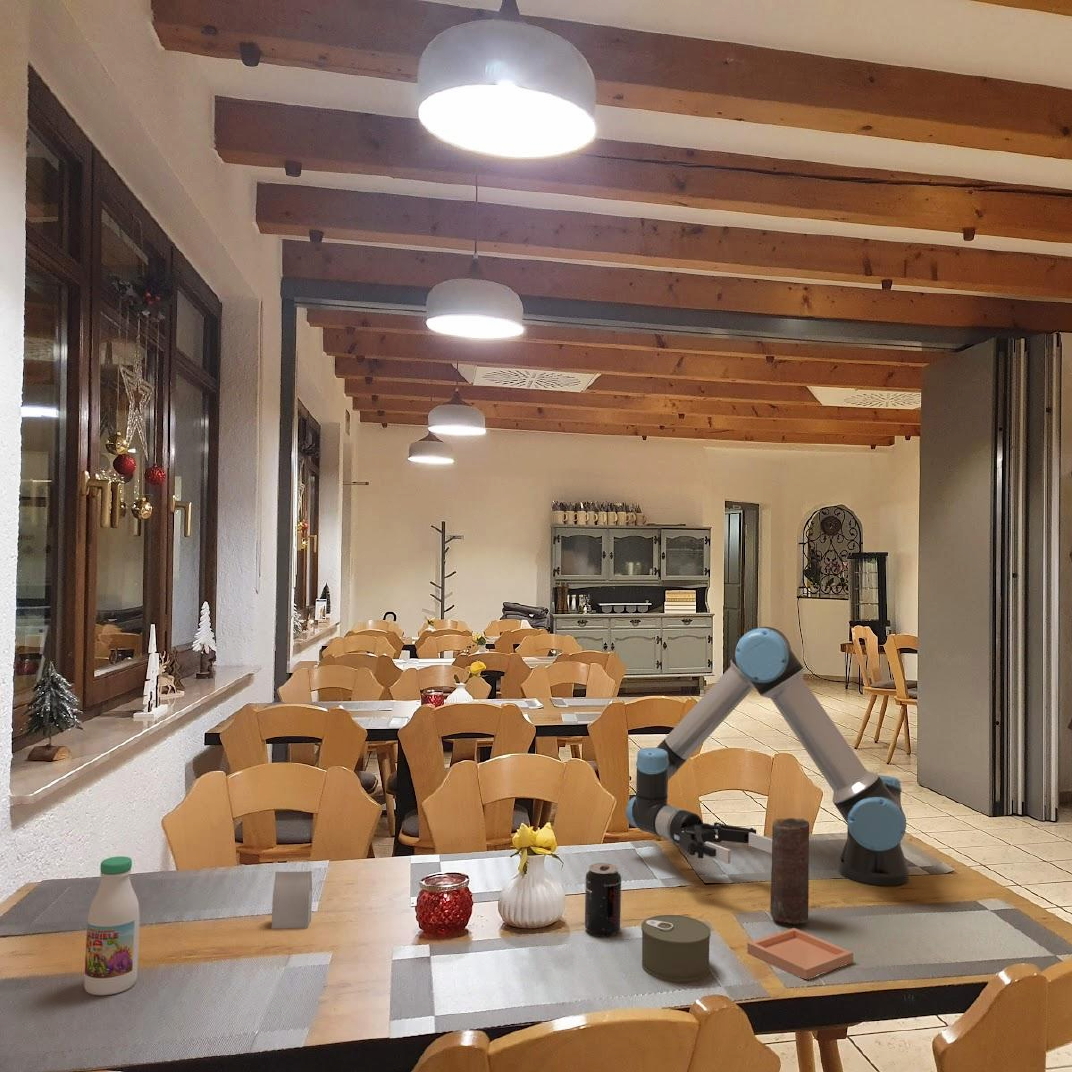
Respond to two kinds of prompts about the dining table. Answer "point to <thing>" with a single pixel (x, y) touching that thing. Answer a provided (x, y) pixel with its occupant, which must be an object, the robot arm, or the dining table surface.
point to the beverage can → (603, 899)
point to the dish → (799, 953)
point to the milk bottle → (112, 931)
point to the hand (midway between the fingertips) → (751, 851)
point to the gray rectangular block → (292, 899)
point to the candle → (790, 870)
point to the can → (675, 948)
